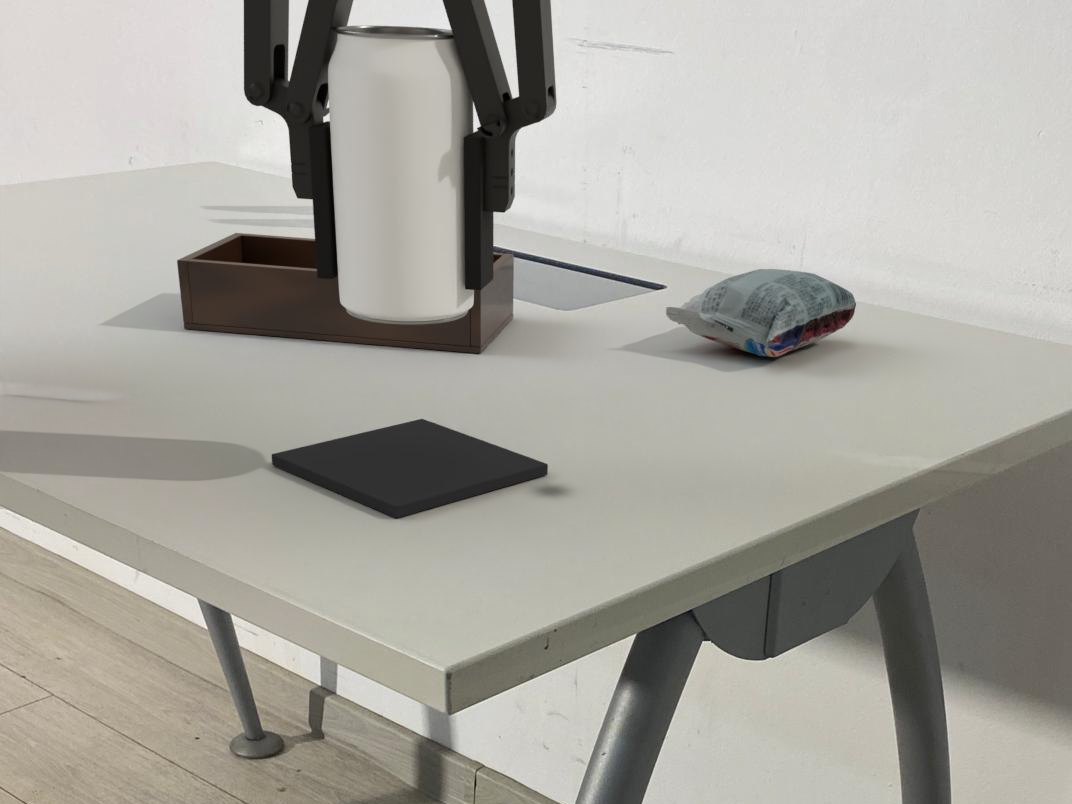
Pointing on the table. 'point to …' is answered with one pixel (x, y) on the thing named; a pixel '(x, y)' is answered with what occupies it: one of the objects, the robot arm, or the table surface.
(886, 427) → the table surface
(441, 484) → the mat
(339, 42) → the can
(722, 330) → the packaged food
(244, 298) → the brown wooden box
